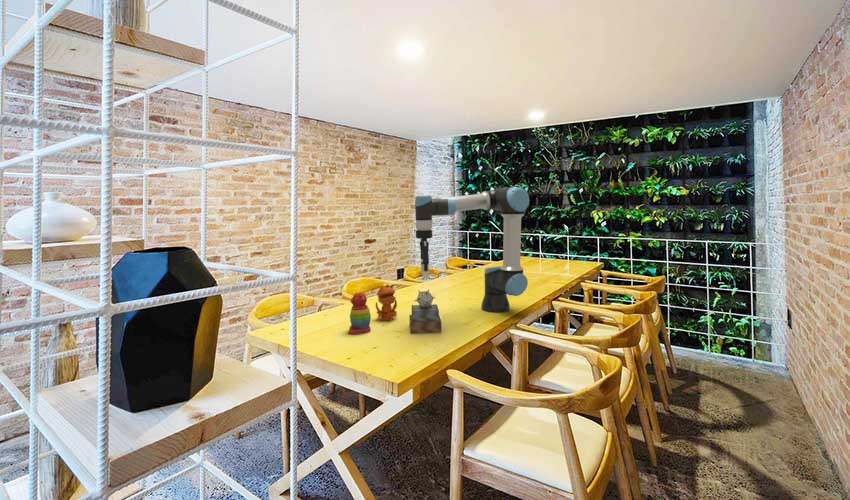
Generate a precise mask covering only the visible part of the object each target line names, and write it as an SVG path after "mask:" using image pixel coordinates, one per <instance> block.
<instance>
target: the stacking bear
mask: <svg viewBox="0 0 850 500" xmlns="http://www.w3.org/2000/svg"><path fill="white" fill-rule="evenodd" d="M367 298H368V297H367V295H366V294H365V293H362V292H360V291H359V292H356V293H354V295H353V296H352V297H351V298H350V303H351V305H352V306H351V310H350V314H349V321H350V326H349V329H348V331H347V333H348V335H355V336H356V335H361V334H366V333H369V332H370V331H371V326H370V325H371V318H372V317H371V312H370V308H369V306H368V305H367V302H368V299H367Z"/></svg>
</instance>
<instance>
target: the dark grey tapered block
mask: <svg viewBox="0 0 850 500" xmlns="http://www.w3.org/2000/svg"><path fill="white" fill-rule="evenodd" d="M431 307H432V308H431ZM431 307H430V306H428V307H422V308H421V306H420V305H419V304H411V314H409V334H439V333H442V320H441V317H440V316H441V315H440V311H439V310H440V309H439V308H438V304H437V303H436V304H431Z"/></svg>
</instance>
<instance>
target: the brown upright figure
mask: <svg viewBox="0 0 850 500" xmlns="http://www.w3.org/2000/svg"><path fill="white" fill-rule="evenodd" d="M395 294H396V290H395V289H394V285H389V284H387V285H385V286H382V285H380V287H379V290H378V291H377V292H376V296H377V300H378V302H379V303H380V304H381V305H382V306H381V309H380V308H379V305H378V302H375V308H376V314H377V318H378V319H381V321H384V322H388V321H392V320H393V319H394V318H397V316H398V313H397V310H396V309H397V307H398V303H397V298H396V297H395V296H394V295H395ZM392 304H393V306H392Z"/></svg>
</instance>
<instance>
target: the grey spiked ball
mask: <svg viewBox="0 0 850 500" xmlns="http://www.w3.org/2000/svg"><path fill="white" fill-rule="evenodd" d="M435 298H436V297H435V296H433V295H432V294H431V293H430V289H428V290H426V291H425V290H424V291H420V290H418V294H417V298H416V299H414V302H417V303H418V305H420V306H421V308H422V307H428V306H430V307H431V305H433V304H432V303H433V300H434V299H435ZM431 308H432V307H431Z"/></svg>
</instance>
